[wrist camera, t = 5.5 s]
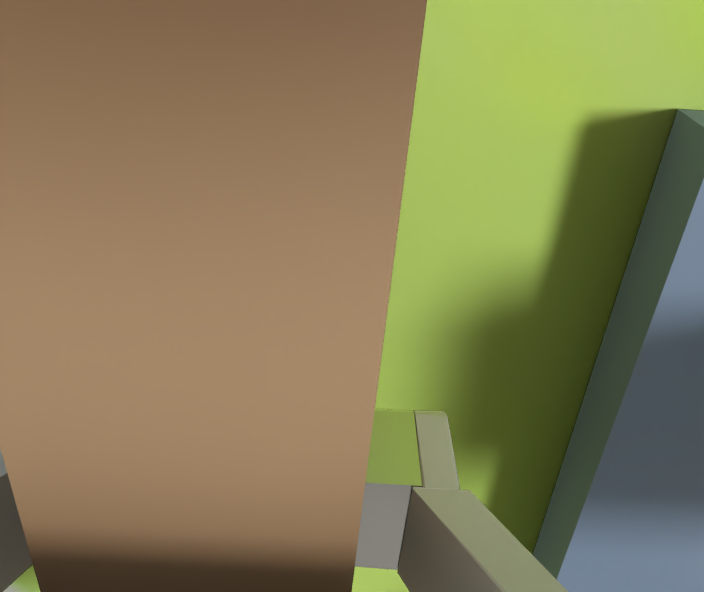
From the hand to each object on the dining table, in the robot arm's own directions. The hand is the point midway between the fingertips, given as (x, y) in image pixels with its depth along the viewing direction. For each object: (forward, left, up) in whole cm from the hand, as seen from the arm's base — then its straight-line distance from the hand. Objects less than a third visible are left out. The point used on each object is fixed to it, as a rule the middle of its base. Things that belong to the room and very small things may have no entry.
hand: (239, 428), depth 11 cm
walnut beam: (0, 0, -3) cm, 3 cm away
